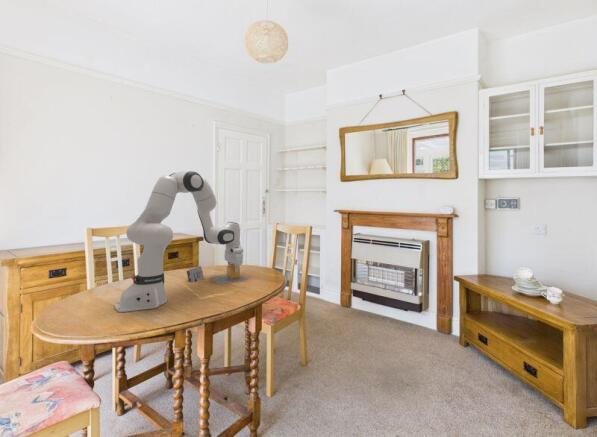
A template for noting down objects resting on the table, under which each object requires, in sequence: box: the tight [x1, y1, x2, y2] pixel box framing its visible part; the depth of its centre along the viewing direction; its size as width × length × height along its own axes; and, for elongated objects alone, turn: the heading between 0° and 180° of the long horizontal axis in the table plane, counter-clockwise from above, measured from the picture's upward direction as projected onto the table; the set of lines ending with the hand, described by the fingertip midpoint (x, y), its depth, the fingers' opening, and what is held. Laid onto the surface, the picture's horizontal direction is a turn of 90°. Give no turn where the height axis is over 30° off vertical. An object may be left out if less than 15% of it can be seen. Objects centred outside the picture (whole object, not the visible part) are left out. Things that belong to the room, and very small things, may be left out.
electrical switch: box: [186, 265, 205, 283], centre depth 189 cm, size 9×5×9 cm, turn 152°
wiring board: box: [210, 274, 249, 285], centre depth 192 cm, size 18×16×6 cm
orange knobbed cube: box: [226, 263, 241, 278], centre depth 197 cm, size 6×6×8 cm
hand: (233, 270), depth 197 cm, fingers open, 8 cm apart
